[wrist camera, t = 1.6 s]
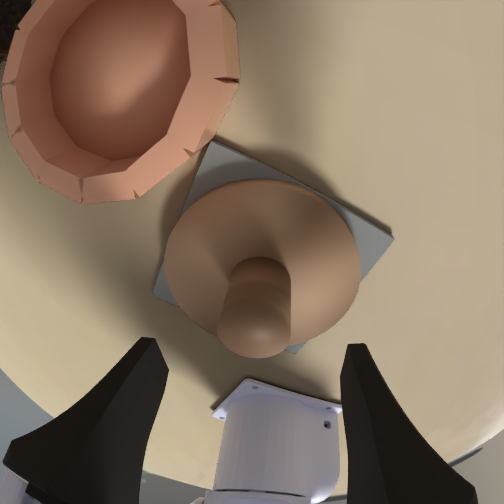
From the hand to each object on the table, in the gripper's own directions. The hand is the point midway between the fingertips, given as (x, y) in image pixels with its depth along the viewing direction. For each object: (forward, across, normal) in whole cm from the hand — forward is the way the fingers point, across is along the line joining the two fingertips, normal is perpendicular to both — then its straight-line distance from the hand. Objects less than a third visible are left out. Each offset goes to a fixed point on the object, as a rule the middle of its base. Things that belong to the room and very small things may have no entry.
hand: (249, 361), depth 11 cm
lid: (+6, 0, 0) cm, 6 cm away
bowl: (+6, +6, -11) cm, 14 cm away
